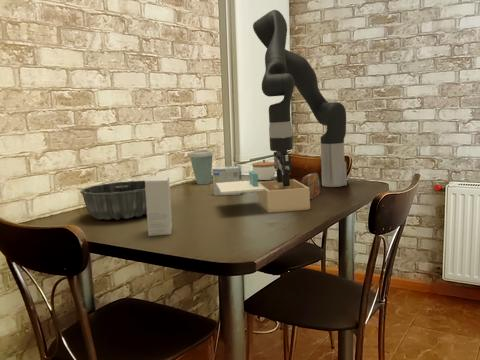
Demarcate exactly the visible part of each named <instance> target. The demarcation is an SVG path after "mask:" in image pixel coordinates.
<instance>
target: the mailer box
mask: <svg viewBox="0 0 480 360" xmlns="http://www.w3.org/2000/svg"><path fill="white" fill-rule="evenodd" d="M258 184H260V185H261V186H262V187H263V188H264V189H265V191H256V192H257V193H256V194H257V202H258V204H259V205H260V206H261V207H262V208H263V209H264V210H265V211H266V212H267V214H275V213H283V212H285V213H286V212H295V211H297V212H298V211H307V210H311V199H310V192H309V187H307V186H305V185H303V184H302V182H300V181H298V180H296V179H290V186H289V187H290V189H284V190H274V186H276V185H283V182H281V183H278V182H277V180H274V181H273V180H270V181H258Z"/></svg>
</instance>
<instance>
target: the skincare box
mask: <svg viewBox="0 0 480 360" xmlns="http://www.w3.org/2000/svg"><path fill="white" fill-rule="evenodd" d="M144 181H145V191H146V206H147V215H146V219H147V233H148V236H149V237H150V236H151V237H153V236H167V235H169V236H170V235H171V234H172V230H173V222H172V220H173V219H172V206H171V205H172V203H171V202H172V201H171V188H170V187H171V186H170V176H169V174H165V175H150V176H149V175H148V176H147V177H146V178H145V180H144Z"/></svg>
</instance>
